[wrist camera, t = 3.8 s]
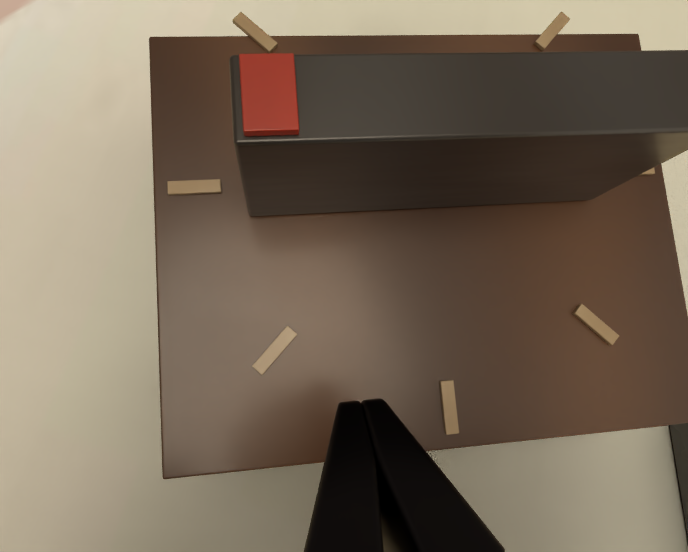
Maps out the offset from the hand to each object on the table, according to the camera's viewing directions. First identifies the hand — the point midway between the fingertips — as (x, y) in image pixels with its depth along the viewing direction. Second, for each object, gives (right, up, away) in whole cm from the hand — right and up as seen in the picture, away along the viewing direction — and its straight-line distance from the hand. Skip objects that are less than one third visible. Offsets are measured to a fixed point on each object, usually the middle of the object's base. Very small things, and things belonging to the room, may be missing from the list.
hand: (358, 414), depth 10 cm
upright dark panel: (+2, +5, +5) cm, 8 cm away
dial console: (+1, +4, +10) cm, 11 cm away
